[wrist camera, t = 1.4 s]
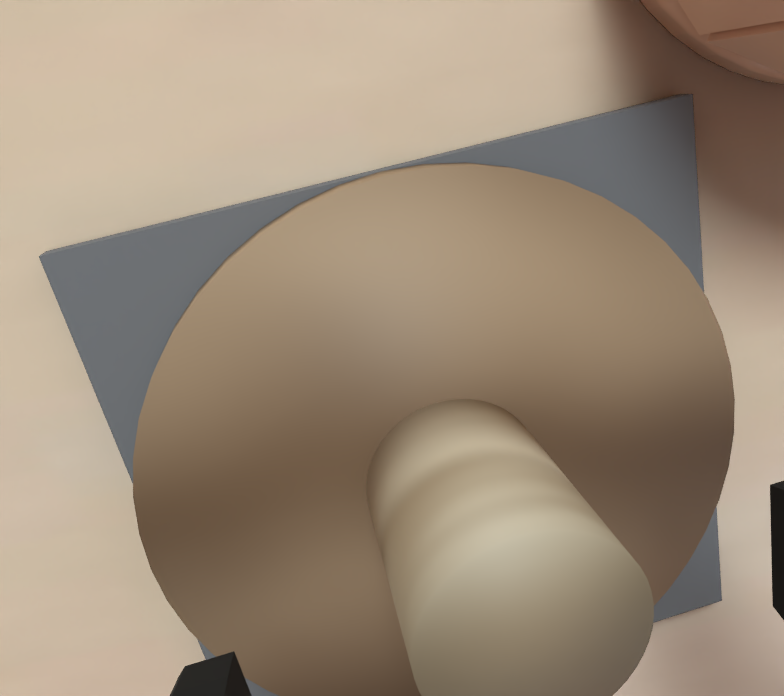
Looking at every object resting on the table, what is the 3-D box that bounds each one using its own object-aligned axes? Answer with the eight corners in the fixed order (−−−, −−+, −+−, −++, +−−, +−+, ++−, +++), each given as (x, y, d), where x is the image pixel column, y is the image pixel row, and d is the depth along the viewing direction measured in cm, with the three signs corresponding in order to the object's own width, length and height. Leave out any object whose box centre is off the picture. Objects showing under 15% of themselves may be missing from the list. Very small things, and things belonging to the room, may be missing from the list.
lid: (721, 600, 16) (904, 797, 11) (244, 752, 15) (235, 1035, 10) (692, 94, 12) (956, 83, 7) (39, 255, 11) (-122, 359, 6)
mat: (711, 589, 16) (721, 600, 16) (245, 737, 15) (244, 753, 15) (679, 94, 12) (692, 94, 12) (46, 251, 11) (38, 255, 11)
